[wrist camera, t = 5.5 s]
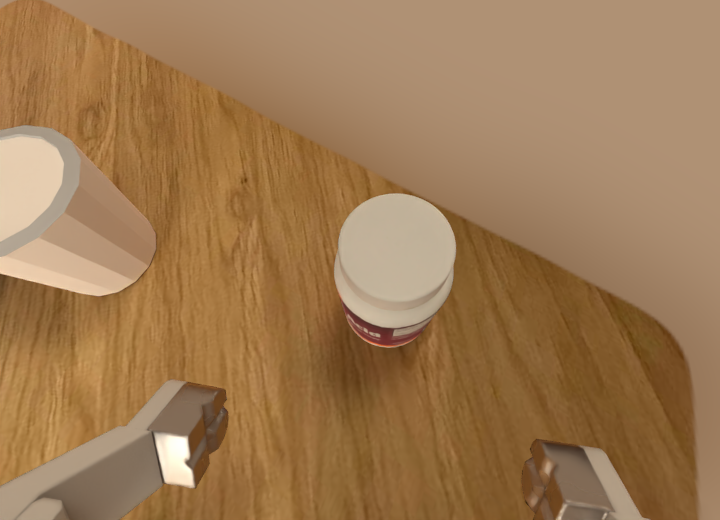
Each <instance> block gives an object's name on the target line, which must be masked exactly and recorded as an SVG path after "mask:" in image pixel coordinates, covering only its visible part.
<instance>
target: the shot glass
mask: <svg viewBox="0 0 720 520" xmlns="http://www.w3.org/2000/svg"><path fill="white" fill-rule="evenodd" d="M155 251H156V233H155V231H154V230H153V228H152V226H151V224H150V222H149V221H148V220H147V219H146V217H145V216H144V215H143V214H142V213H141V212H140V211H139V210H138V209H137V208H136V207H135V206H134V205H133V204H132V203H131V202H130V201H129V200H128V199H127V198H126V197H125V196H124V195H123V194H122V193H121V191H120V190H119V189H118V188H117V187H116V186H115V185H114V184H113V183H112V182H111V181H110V180H109V179H108V178H107V177H106V176H105V175H104V174H103V173H102V172H101V171H100V170H99V169H98V168H97V167H96V166H95V164H94V163H93V162H92V161H91V160H90V159H89V158H88V157H87V156H86V155H85V154H84V153H83V152H82V151H81V150H80V149H79V148H78V147H77V146H76V145H75V144H74V143H73V142H72V141H71V140H70V139H68V138H67V137H65V136H64V135H62V134H60V133H59V132H57V131H55V130H54V129H52V128H46V127H37V126H29V125H24V126H18V127H13V128H8V129H3V130H0V274H4V275H8V276H12V277H16V278H20V279H24V280H28V281H32V282H37V283H41V284H45V285H49V286H53V287H57V288H61V289H65V290H69V291H73V292H77V293H81V294H87V295H93V296H103V295H108V294H112V293H117V292H119V291H121V290H123V289H124V288H126V287H127V286H129V285H131V284H132V283H134V282H136V281H137V280H138V278H139V277H140V276H141V275H142V274H143V273H144V272H145V270H146V269H147V268H148V267H149V265H150V263H151V260H152V258H153V256H154V253H155Z"/></svg>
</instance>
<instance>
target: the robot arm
mask: <svg viewBox="0 0 720 520" xmlns="http://www.w3.org/2000/svg"><path fill="white" fill-rule="evenodd" d="M226 400H227V397H226V390H224V389H222V388H217V387H212V386H207V385H201V384H196V383H191V382H184V381H179V380H173V379H170V380H169V381H167V382H165V383H164V384H163V385H162V386H161V387H160V388H159V390H158V391H157V392H156V393H155V394H154V395H153V396H152V397H151V398H150V400H149V401H148V402H147V403H146V404H145V405H144V406H143V407H142V408H141V410H140V411H139V412H138V413H137V414H136V415H135V416H134V417H133V418H132V420H131V421H130V422H129V423H128V424H127V425H126V426H118V427H116V428H114V429H112V430H110V431H108V432H106V433H104V434H102V435H100V436H98V437H96V438H94V439H92V440H90V441H88V442H86V443H84V444H83V445H81V446H79V447H77V448H75V449H73V450H71V451H69V452H67V453H65V454H63V455H61V456H59V457H57V458H55V459H53V460H51V461H49V462H47V463H45V464H43V465H41V466H39V467H37V468H35V469H33V470H31V471H29V472H27V473H25V474H23V475H21V476H19V477H17V478H15V479H13V480H11V481H9V482H7V483H5V484H3V485H1V486H0V520H120V519H121V518H122V517H124V516H125V515H126V514H127V513H129V512H130V511H131V510H132V509H134V508H135V507H136V506H138V505H139V504H140V503H141V502H143V501H144V500H145V499H146V498H148V497H149V496H150V495H152V494H153V493H154V492H155V491H157V490H158V489H159V488H160V487H162V486H163V483H164V484H170V485H176V486H183V487H189V488H196V487H197V485H198V484H199V482H200V480H201V478H202V477H203V475H204V473H205V471H206V470H207V468H208V466H209V464H210V463H209V454H211V453H212V452H214V451H215V450H217V449H218V448H219V446H220V444H221V443H222V441H223V439H224V436H225V433H226V430H227V427H228V411H227V410H226V409H225V408H224V406H223V405H224V403H225V401H226ZM530 451H531V454H532V458H530V459H528V460H527V461H525V464H524V467H523V470H522V489H523V494H524V498H525V502H526V504H527V505H528V506H529V507H530V508H531V509H532V511H533V512H534V513H535V515H534V518H533V520H650V519H647V518H643V517H642V516H641V515H640V513H639V511H638V509H637V508H636V506H635V504H634V502H633V501H632V499H631V497H630V495H629V494H628V492H627V490H626V488H625V487H624V485H623V483H622V481H621V480H620V478H619V476H618V474H617V473H616V471H615V469H614V467H613V466H612V464H611V462H610V460H609V459H608V457H607V455H606V453H605V452H604V451H603V450H601V449H599V448H593V447H586V446H580V445H578V446H577V445H574V444H567V443H561V442H554V441H547V440H541V439H536V440H535V441H533V443H532V445H531V448H530Z"/></svg>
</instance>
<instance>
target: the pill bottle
mask: <svg viewBox="0 0 720 520" xmlns="http://www.w3.org/2000/svg"><path fill="white" fill-rule="evenodd" d="M455 256H456V243H455V237H454V233H453V231H452V229H451V226H450V224H449V223H448V221H447V219H446V218H445V217H444V215H443V214H442V213H441V212H440V211H439V210H438V209H437V208H435V207H434V206H433V205H431V204H430V203H428V202H427V201H425V200H423V199H420V198H418V197H415V196H411V195H406V194H385V195H381V196H377V197H374V198H372V199H369V200H367V201H365V202H364V203H362V204H361V205H359V206H358V207H357V208H356V209H354V210H353V211H352V212H351V214H350V215H349V216H348V217H347V219H346V220H345V222H344V224H343V226H342V228H341V231H340V235H339V240H338V252H337V255H336V259H335V264H334V276H335V283H336V287H337V290H338V294H339V296H340V300H341V303H342V306H343V309H344V312H345V315H346V317H347V320H348V322H349V324H350V326H351V327H352V329H353V330H354V331H355V332H356V333H357V335H359V336H360V337H361V338H362V339H363V340H365V341H366V342H368V343H370V344H373V345H376V346H380V347H388V348H390V347H398V346H402V345H404V344H407V343H409V342H411V341H412V340H414V339H415V338H417V337H418V336H419V335H420V334H421V333H422V332H423V330H424V329H425V328H426V326H427V325H428V323H429V322H430V321H431V319H432V318H433V316H434V315H435V314H436V312H437V311H438V310H439V309H440V307H441V306H442V305H443V304H444V302H445V301H446V299H447V297H448V295H449V293H450V290H451V287H452V283H453V277H454V276H453V272H454V268H453V265H454V261H455Z"/></svg>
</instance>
